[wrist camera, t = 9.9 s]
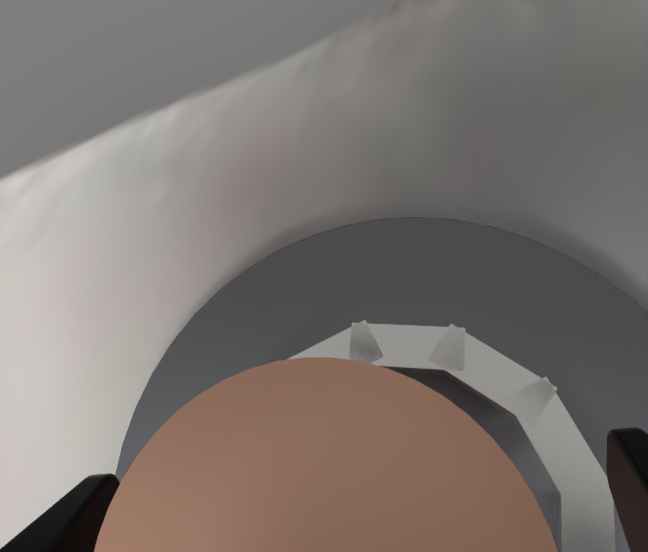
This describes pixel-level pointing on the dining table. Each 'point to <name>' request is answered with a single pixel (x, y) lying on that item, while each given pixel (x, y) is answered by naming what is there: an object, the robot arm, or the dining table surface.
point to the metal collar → (510, 398)
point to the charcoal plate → (424, 310)
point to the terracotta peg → (322, 471)
